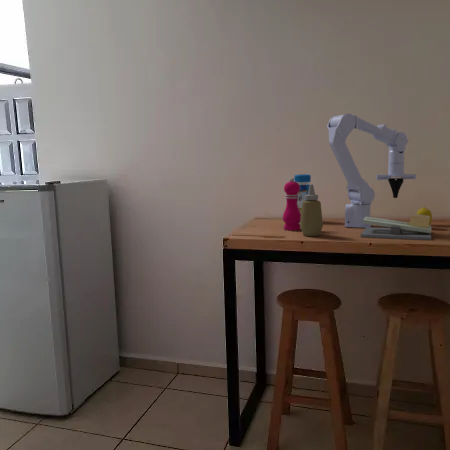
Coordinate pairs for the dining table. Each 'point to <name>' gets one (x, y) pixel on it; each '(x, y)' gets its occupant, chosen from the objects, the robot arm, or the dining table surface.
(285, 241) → the dining table surface
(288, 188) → the pepper mill
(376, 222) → the beam
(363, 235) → the pivot stand
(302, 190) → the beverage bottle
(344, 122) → the robot arm
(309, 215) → the squeeze bottle
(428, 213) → the lemon
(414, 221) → the tan block
